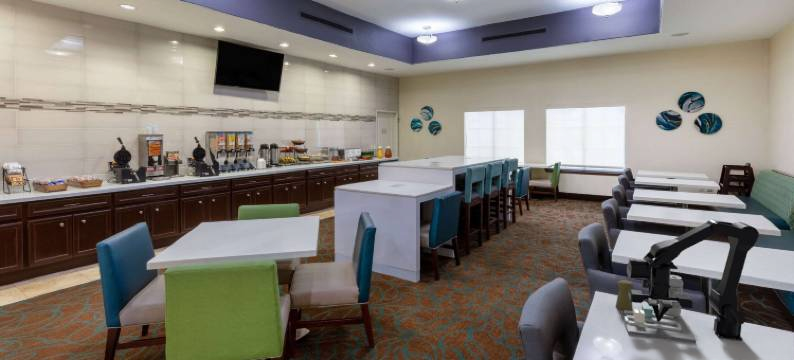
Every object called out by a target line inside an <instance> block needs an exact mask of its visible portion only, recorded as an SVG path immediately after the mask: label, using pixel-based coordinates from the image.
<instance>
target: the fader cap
mask: <svg viewBox="0 0 794 360" xmlns="http://www.w3.org/2000/svg"><path fill="white" fill-rule="evenodd" d="M633 311H634V316H633V320H634V322H638V323H644V321H645V313H644V311H643V310H642V309H640V308H639V309H637V308H633Z"/></svg>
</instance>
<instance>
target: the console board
mask: <svg viewBox="0 0 794 360" xmlns="http://www.w3.org/2000/svg"><path fill="white" fill-rule="evenodd" d="M641 310H643V311H644V313H645V321H644V323H638V322H634V320H633V316H634V310H631V311H627V310H625V311H623V310H620V311H621V313H620V315H621V318H622V321H623V324H624V326H625V328H626V331H627V334H628V335H631V336H638V337H645V338H653V339H661V340H669V341H674V342H675V341H676V342H681V343H689V344H690V343H691V344H697V339H696V337H694V335H693V333H692V331H691V330H690V328H689V327H688V326H687V324H686V323H685V320H684V319H683V318H679V317H673V316H669V315H665V314H664V316H663V317H662V319H661V321H660V322H658V321H657V320H656V317H655V314H654V311H653V308H652V306H649V305H644V304H641Z"/></svg>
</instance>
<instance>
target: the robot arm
mask: <svg viewBox="0 0 794 360" xmlns="http://www.w3.org/2000/svg"><path fill="white" fill-rule="evenodd" d="M717 234H719V235H723V236H727V239H728V240H727V241H728V244H729V249H728V250H729V251H728V254H727V258H726V261H725V265H724V269H723V272H722V275H721V280H720V283H719V286H718V287H717V288H715V289H714V288H710V291H709V292H710V293H709V296H708V297H707V300H709V305H710V306H711V307H712V308H713V309H714V311H715V313H717V314H716V316H715V317H716V318H714V323H713V331H714V332H715V333H716V335H717V336H718V337H719V338H722V339H730V340H739V341H743V337H742V336H741V332H742V326H743V325H744V323H745V322H746V320H747V319H746V318H747V317H745V316H744V315H743V314H742V313H741V312H739V297H738V288H739V283H740V280H741V277H742V273H743V269H744V266H745V262H746V259H747V255H748V253H749V251H750V250H751V249H752V248H754V247H755V245H756V243H757V241H758V240H759V237H760V232H759V231H758V229H757V228H755V226H752V225H749V224H747V223H744V222H742V221H737V222H728V221H722V220H721V221H720V220H716V219H709V220H707V221H706V222H705V223H703V224H701V225H699V226H697V227H695V228H692V229H691V230H689V231H687V232H685V233H684V234H681V235H679V236H677V237H676V238H672V239H668V240H667V239H666V240H663V241H659V242H656V243H654V244H652V245H651V246H650V250H649V251H648V252H647V253H646V254H645V255H644V257H643V258H642V259H634V258H629V259H628V262H627V266H626V275H627V277H628V279H637V280H638V279H639V280H640V279H641V287H642V289H643V288H644V289H647V292H648V293H643V292H642V290H640V289H639V290H638V289H632V290H629V294H628V296H629V298H630V301H631V302H632V303H636V304H637V303H639V304H642V303H643V302H644V301H646V303H647V304H648V305H647V306H651V307H652V309H653V314H655V317H656V320H657V321H658V322H660V321H661V319H662V317H663V316H664V315H665V313H666V312H667V311H668V310H669V309H670V308H673V306H672V302H675V303H679V305H680V306H681V308H687V309H692V308H693V304H694V303H693V300H692V299H691V297H690V296H689V295H688V294H685V293H684V294H683V293H682V294H675V297H671V296H669V289H670V275H671V270H678V269H679V267H678V266H677V265H675V263H674V262H673V261H674V260H675V259H677V258H678V257H679V256H680V255H681V253H682V252H684V251H685V250H687V249H689V248H691V247H693V246H695V245H697V244H699V243H701V242H703V241H705V240H707V239H710V238H711V237H713V236H716V235H717ZM649 279H650V280H649ZM658 302H659V304H658Z"/></svg>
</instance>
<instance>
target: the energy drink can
mask: <svg viewBox="0 0 794 360" xmlns="http://www.w3.org/2000/svg"><path fill="white" fill-rule="evenodd" d="M682 279H683V278H682V277H681V276H680V275H676V274H670V289H669V296H671V297H675V294H683V290H684V281H683V280H682ZM672 306H673V308H670V309H669V310H668V311H667V312H666V313H665V314H664V315H669V316H673V317H674V318H679V316H680V315H681V314H682V307H681V306H680V305H679V303H675V302H672Z"/></svg>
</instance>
